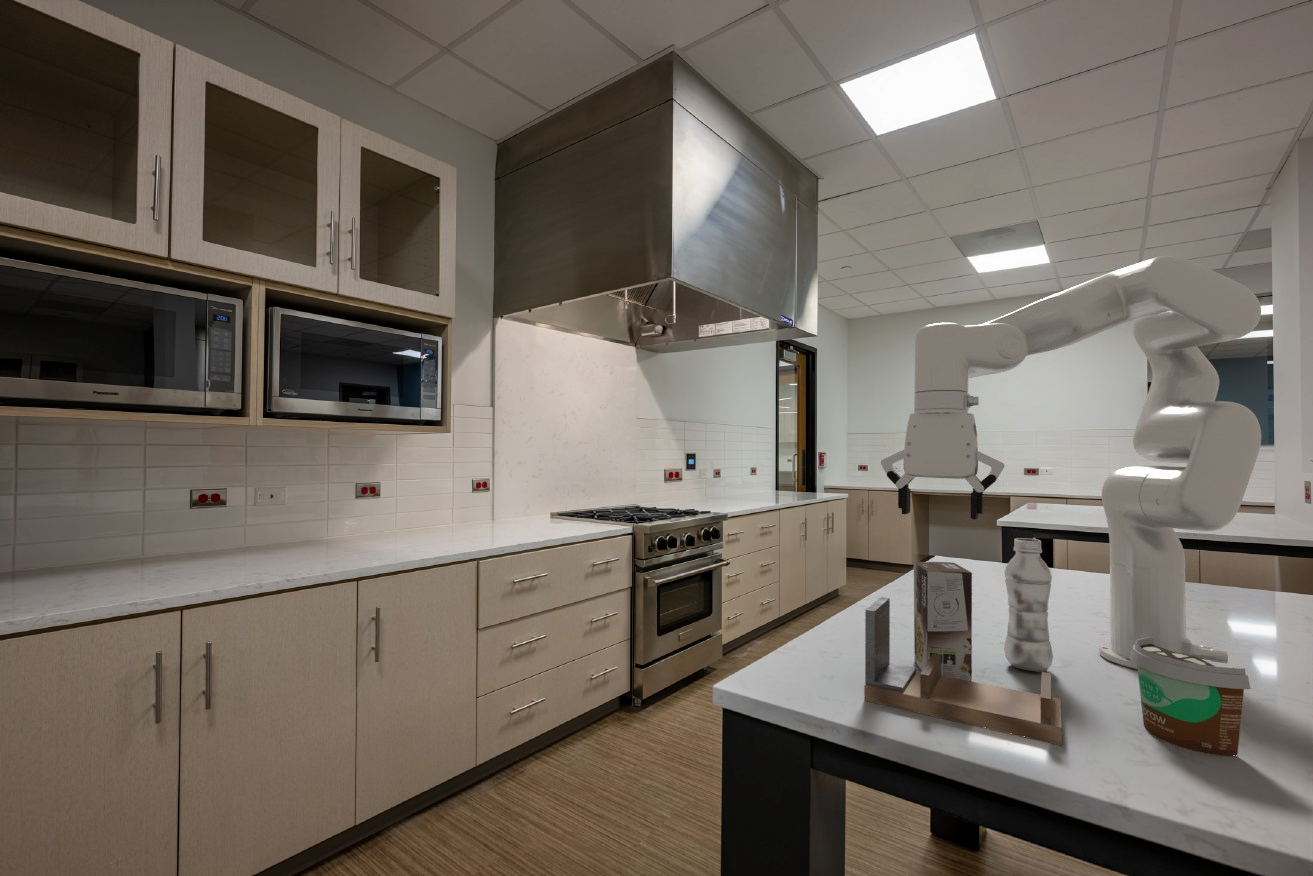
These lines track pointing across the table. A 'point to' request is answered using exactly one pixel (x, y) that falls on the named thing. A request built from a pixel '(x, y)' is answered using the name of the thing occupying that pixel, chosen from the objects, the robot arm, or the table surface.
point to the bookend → (882, 650)
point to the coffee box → (943, 617)
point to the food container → (1189, 699)
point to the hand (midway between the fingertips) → (939, 516)
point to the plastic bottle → (1028, 608)
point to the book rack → (976, 703)
